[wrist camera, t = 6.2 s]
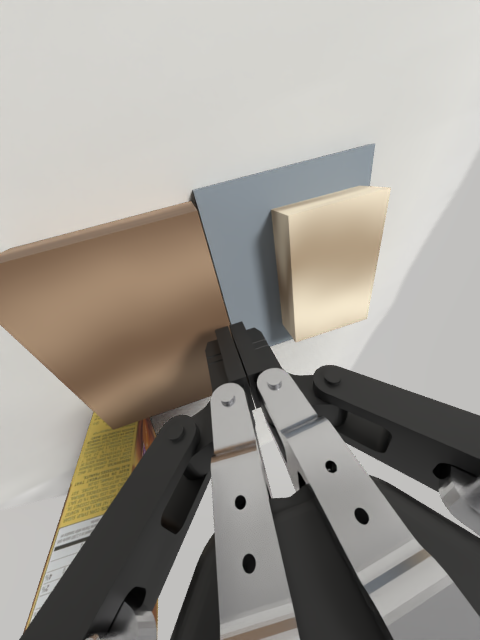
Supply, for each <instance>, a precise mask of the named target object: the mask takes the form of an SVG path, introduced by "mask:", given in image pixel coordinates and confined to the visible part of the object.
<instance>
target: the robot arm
mask: <svg viewBox="0 0 480 640" xmlns="http://www.w3.org/2000/svg"><path fill="white" fill-rule="evenodd" d="M229 328H230V330H229ZM230 331H231V333H230ZM215 333H216V337H217V339H216V340H213V341H210V342H208V343H207V346H206V349H205V353H206V358H207V364H208V370H209V375H210V381H211V386H212V396H211V399H210V401H209V403H208V404H207V406H206V407H205V408H204V409H202V410H201V411H200V412H198V413H197V414H195V415H194V416H193V417H189V416H187V415H179V416H176V417H173V418H172V419H170V420H169V421H168V422H166V424H165V425H164V426H163V427H162V429H161V430H160V432H159V433H158V435H157V436H156V437H155V439H154V440H153V442H152V443H151V445H150V446H149V448H148V449H147V451H146V452H145V454H144V455H143V457H142V458H141V460H140V461H139V463H138V464H137V466H136V467H135V469H134V470H133V472H132V473H131V475H130V476H129V478H128V479H127V481H126V482H125V483H124V485H123V486H122V488H121V489H120V491H119V492H118V494H117V495H116V497H115V498H114V500H113V501H112V503H111V504H110V506H109V507H108V509H107V510H106V512H105V513H104V515H103V516H102V518H101V519H100V521H99V522H98V524H97V525H96V527H95V528H94V529H93V531H92V532H91V534H90V535H89V537H88V538H87V540H86V541H85V543H84V544H83V546H82V547H81V549H80V550H79V552H78V553H77V555H76V556H75V558H74V559H73V561H72V562H71V564H70V565H69V567H68V568H67V570H66V571H65V573H64V574H63V576H62V577H61V578H60V580H59V581H58V583H57V584H56V586H55V587H54V589H53V590H52V592H51V593H50V595H49V596H48V598H47V599H46V601H45V602H44V604H43V605H42V607H41V608H40V610H39V611H38V613H37V614H36V616H35V617H34V619H33V620H32V622H31V623H30V624H29V626H28V627H27V629H26V630H25V632H24V633H23V635H22V636H21V638H20V639H19V640H157V627H156V621H155V618H154V615H153V613H152V611H153V609H154V606H155V604H156V602H157V599H158V597H159V595H160V593H161V590H162V588H163V586H164V583H165V581H166V579H167V577H168V574H169V572H170V570H171V567H172V565H173V563H174V561H175V558H176V556H177V553H178V552H179V549H180V547H181V545H182V542H183V540H184V538H185V536H186V533H187V531H188V529H189V526H190V524H191V522H192V520H193V517H194V515H195V512H196V510H197V508H198V506H199V504H200V501H201V499H202V497H203V495H204V492H205V490H206V488H207V485H208V483H209V481H210V479H211V481H212V498H213V515H214V531H215V533H214V534H213V535H212V537H211V538H210V540H209V541H208V543H207V545H206V546H205V548H204V550H203V552H202V554H201V556H200V558H199V561H198V563H197V566H196V568H195V572H194V574H193V577H192V580H191V582H190V585H189V588H188V591H187V594H186V597H185V600H184V602H183V605H182V608H181V611H180V613H179V616H178V619H177V622H176V625H175V627H174V630H173V633H172V636H171V639H170V640H480V538H478V537H477V536H475V535H473V534H472V533H470V532H468V531H467V530H465V529H464V528H462V527H460V526H459V525H457V524H455V523H454V522H452V521H450V520H449V519H447V518H445V517H444V516H442V515H441V514H439V513H437V512H436V511H434V510H432V509H431V508H429V507H427V506H426V505H424V504H422V503H421V502H419V501H417V500H416V499H414V498H412V497H411V496H409V495H408V494H406V493H404V492H403V491H401V490H399V489H398V488H396V487H394V486H393V485H391V484H389V483H387V482H385V481H383V480H381V479H379V478H376V477H373V476H371V475H368V474H367V472H366V471H365V469H364V468H363V467H362V465H361V464H360V463H359V461H358V460H357V459H356V457H355V456H354V454H353V453H352V452H351V450H350V449H349V448H348V446H347V445H346V443H347V444H349V445H351V446H353V447H355V448H357V449H358V450H360V451H362V452H364V453H366V454H368V455H370V456H372V457H374V458H375V459H377V460H379V461H381V462H383V463H385V464H387V465H389V466H390V467H392V468H394V469H396V470H398V471H400V472H402V473H404V474H406V475H407V476H409V477H411V478H413V479H415V480H417V481H419V482H421V483H422V484H425V485H426V486H428V487H430V488H432V489H434V490H436V491H437V492H439V494H440V496H441V499H442V501H443V503H444V504H445V506H446V507H447V509H448V510H449V511H450V513H451V514H452V515H453V516H454V517H455V518H457V519H458V520H459V521H460V522H461V523H463V524H464V525H466V526H467V527H469V528H470V529H472V530H473V531H474V532H475V533H477V534H478V535H479V536H480V416H479V415H476V414H473V413H470V412H468V411H465V410H462V409H459V408H456V407H453V406H450V405H447V404H445V403H442V402H439V401H436V400H433V399H430V398H427V397H425V396H422V395H419V394H416V393H413V392H410V391H407V390H404V389H401V388H398V387H396V386H393V385H390V384H387V383H384V382H381V381H378V380H376V379H373V378H370V377H367V376H364V375H361V374H358V373H356V372H353V371H350V370H347V369H344V368H341V367H338V366H334V365H326V366H322V367H320V368H318V369H317V370H316V371H315V373H314V375H303V376H298V375H293V374H290V373H288V372H286V371H285V370H283V369H282V367H281V366H280V364H279V362H278V361H277V359H276V357H275V355H274V353H273V352H272V350H271V348H270V346H269V345H268V343H267V341H266V340H265V337H264V336H263V334H262V332H261V331H259V330H258V329H256V328H255V327H254V328H251V329H248V330H246V328H245V326H244V324H243V322H242V321H241V322H238V323H235V324H231V325H229V327H228V326H225V327H222V328H219V329H216V330H215ZM231 335H232V336H231ZM232 338H233V339H232ZM251 395H252V396H251ZM252 397H253V400H254V403H255V406H256V409H257V408H260V407H261V408H262V411H263V413H264V416H265V420H266V424H267V426H268V428H269V430H270V432H271V435H272V437H273V439H274V441H275V443H276V445H277V448H278V450H279V452H280V454H281V456H282V458H283V460H284V463H285V465H286V467H287V470H288V473H289V475H290V478H291V480H292V483H293V486H294V488H295V490H296V493H295V494H293V495H292V496H291V497H288V498H272V494H271V490H270V486H269V482H268V478H267V474H266V471H265V466H264V462H263V458H262V454H261V450H260V445H259V441H258V437H257V433H256V429H255V420H254V417H253V413H252V410H254V409H255V407H254V403H253V400H252Z"/></svg>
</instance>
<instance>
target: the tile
mask: <svg viewBox="0 0 480 640" xmlns="http://www.w3.org/2000/svg"><path fill="white" fill-rule="evenodd" d="M390 190H391V188H388V187H373V186H356V187H353V188H349V189H345V190H341V191H338V192H334V193H330V194H326V195H323V196H319V197H315V198H312V199H308V200H304V201H300V202H297V203H293V204H289V205H286V206H282V207H278V208H274V209H271V214H272V224H273V234H274V244H275V254H276V264H277V274H278V284H279V294H280V304H281V314H282V324H283V325H284V327H285V328H286V330H287V331H288V332H289V334H290V335H291V336H292V338H293V339H294V341H295V342H298V341H301V340H304V339H307V338H311V337H314V336H317V335H320V334H323V333H326V332H329V331H332V330H335V329H338V328H341V327H344V326H347V325H350V324H353V323H356V322H359V321H362V320H365V319H367V315H368V310H369V305H370V299H371V294H372V288H373V283H374V277H375V272H376V266H377V261H378V256H379V250H380V245H381V239H382V234H383V228H384V223H385V217H386V212H387V207H388V201H389V196H390Z"/></svg>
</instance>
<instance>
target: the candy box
mask: <svg viewBox="0 0 480 640" xmlns="http://www.w3.org/2000/svg"><path fill="white" fill-rule="evenodd" d="M155 437H156V433H155V431H154V428H153V426H152V423H151V421H150V418H146V419H143V420H140V421H137V422H134V423H132V424H129V425H126V426H123V427H120V428H117V429H114V430H113V429H112V428H111V427H110V426H109V425H108V424H107V423H105V422H104V421H103V420H102V419H101V418H100V417H99V416H98V415H97V414H96V413H95V412H94V413H93V416H92V419H91V422H90V425H89V428H88V431H87V434H86V438H85V441H84V444H83V447H82V450H81V453H80V456H79V459H78V462H77V466H76V469H75V472H74V475H73V478H72V481H71V484H70V488H69V491H68V494H67V498H66V500H65V503H64V507H63V510H62V514H61V517H60V520H59V523H58V525H57V529H56V532H55V535H54V538H53V541H52V545H51V548H50V551H49V554H48V557H47V560H46V563H45V566H44V569H43V573H42V576H41V579H40V582H39V585H38V588H37V592H36V595H35V598H34V601H33V604H32V608H31V611H30V614H29V617H28V621H27V623H26V626H25V629H24V632H25V630H26V629H27V627H28V626H29V624H30V623H31V622H32V620H33V619H34V617H35V616H36V614H37V613H38V611H39V610H40V608H41V607H42V605H43V604H44V602H45V601H46V599H47V598H48V596H49V595H50V593H51V592H52V590H53V589H54V587H55V586H56V584H57V583H58V581H59V580H60V578H61V577H62V576H63V574H64V573H65V571H66V570H67V568H68V567H69V565H70V564H71V562H72V561H73V559H74V558H75V556H76V555H77V553H78V552H79V550H80V549H81V547H82V546H83V544H84V543H85V541H86V540H87V538H88V537H89V535H90V534H91V532H92V531H93V529H94V528H95V527H96V525H97V524H98V522H99V521H100V519H101V518H102V516H103V515H104V513H105V512H106V510H107V509H108V507H109V506H110V504H111V503H112V501H113V500H114V498H115V497H116V495H117V494H118V492H119V491H120V489H121V488H122V486H123V485H124V483H125V482H126V481H127V479H128V478H129V476H130V475H131V473H132V472H133V470H134V469H135V467H136V466H137V464H138V463H139V461H140V460H141V458H142V457H143V455H144V454H145V452H146V451H147V449H148V448H149V446H150V445H151V443H152V442H153V440H154V439H155ZM152 613H153V615H154V618H155V621H156V627H157V624H158V623H157V621H158V619H157V618H158V599H157V602H156V604H155V606H154V609H153V611H152Z"/></svg>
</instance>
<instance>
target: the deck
mask: <svg viewBox="0 0 480 640" xmlns="http://www.w3.org/2000/svg"><path fill="white" fill-rule="evenodd" d="M0 325H1V326H2V327H3V328H4V329H5V330H7V331H8V332H9V333H10V334H11V335H12V336H13V337H14V338H15V339H16V340H17V341H18V342H19V343H21V344H22V345H23V346H24V347H25V348H26V349H27V350H28V351H29V352H30V353H31V354H32V355H33V356H35V357H36V358H37V359H38V360H39V361H40V362H41V363H42V364H43V365H44V366H45V367H46V368H47V369H48V370H50V371H51V372H52V373H53V374H54V375H55V376H56V377H57V378H58V379H59V380H60V381H61V382H62V383H64V384H65V385H66V386H67V387H68V388H69V389H70V390H71V391H72V392H73V393H74V394H75V395H76V396H78V397H79V398H80V399H81V400H82V401H83V402H84V403H85V404H86V405H87V406H88V407H89V408H90V409H92V410H93V411H94V412H95V413H96V414H97V415H98V416H99V417H100V418H101V419H102V420H103V421H104V422H105V423H107V424H108V425H109V426H110V427H111V428H112V429H113V430H114V429H117V428H120V427H123V426H126V425H129V424H132V423H134V422H137V421H140V420H143V419H146V418H149V417H152V416H155V415H158V414H160V413H163V412H166V411H169V410H172V409H175V408H178V407H181V406H183V405H186V404H189V403H192V402H195V401H198V400H201V399H204V398H207V397H209V396H212V386H211V381H210V375H209V370H208V364H207V358H206V353H205V349H206V346H207V343H208V342H210V341H213V340H216V339H217V337H216V333H215V330H216V329H219V328H222V327H225V326H228V327H229V325H230V322H229V319H228V315H227V312H226V308H225V305H224V301H223V298H222V294H221V291H220V287H219V284H218V280H217V277H216V274H215V270H214V267H213V263H212V260H211V256H210V253H209V249H208V246H207V242H206V239H205V235H204V232H203V228H202V225H201V221H200V218H199V214H198V211H197V209H196V208H195V206H194V205H193V203H192V202H191V201H189V202H185V203H182V204H178V205H174V206H170V207H166V208H163V209H159V210H155V211H151V212H147V213H144V214H140V215H136V216H132V217H128V218H124V219H121V220H117V221H113V222H109V223H105V224H102V225H98V226H94V227H90V228H86V229H83V230H79V231H75V232H71V233H67V234H64V235H60V236H56V237H52V238H48V239H45V240H41V241H37V242H33V243H29V244H26V245H22V246H18V247H14V248H10V249H8V250H6V251H4V252H2V253H0ZM229 330H230V328H229ZM230 333H231V331H230ZM231 336H232V335H231ZM232 339H233V338H232Z"/></svg>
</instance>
